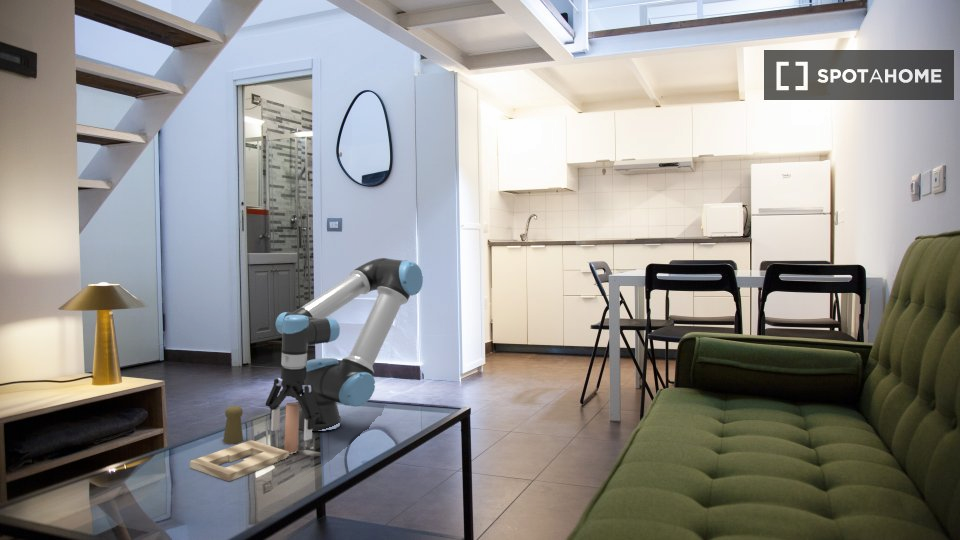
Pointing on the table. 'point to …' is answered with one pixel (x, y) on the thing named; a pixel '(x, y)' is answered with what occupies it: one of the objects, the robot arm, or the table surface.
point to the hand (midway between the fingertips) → (291, 434)
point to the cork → (233, 425)
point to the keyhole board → (261, 459)
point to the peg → (291, 427)
